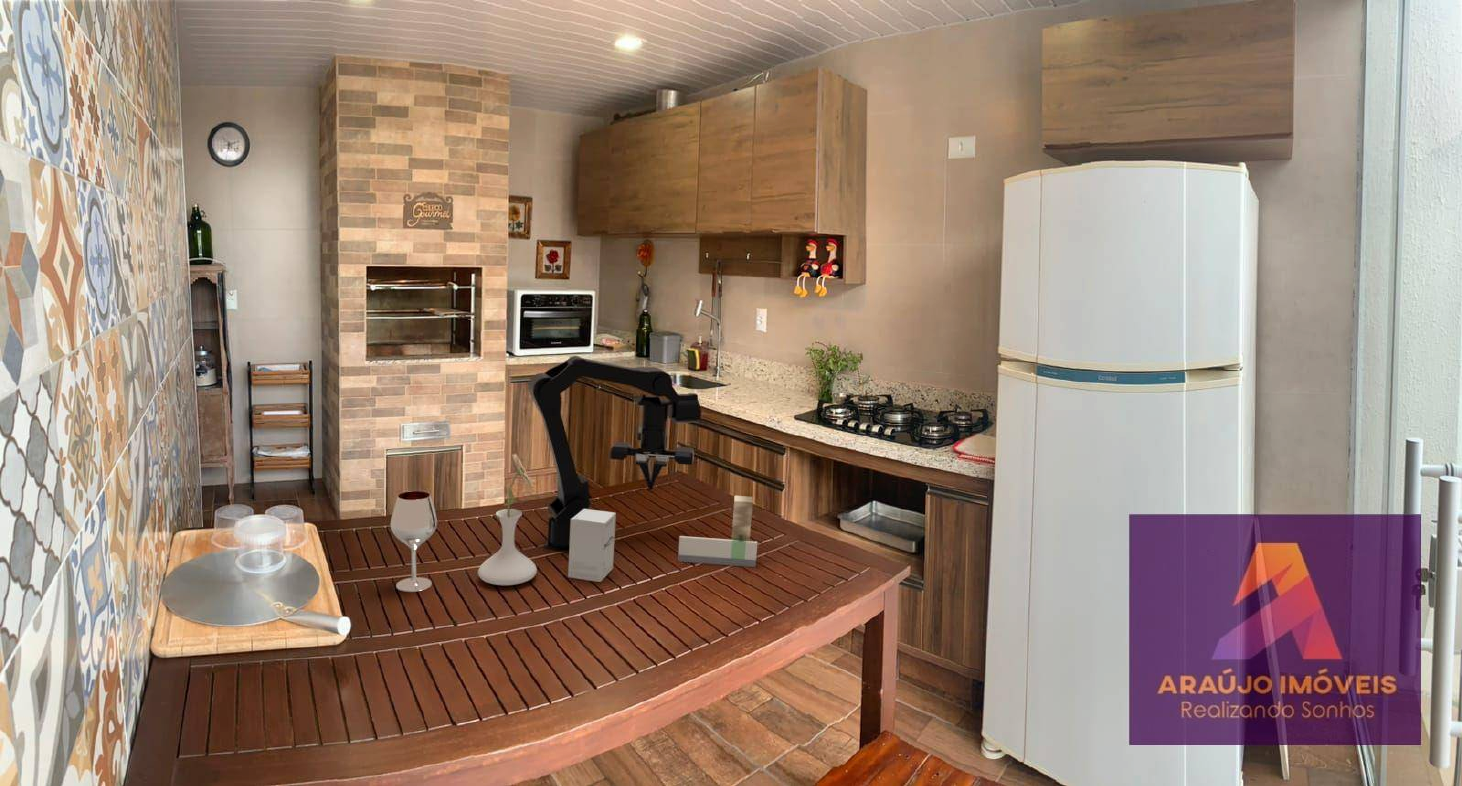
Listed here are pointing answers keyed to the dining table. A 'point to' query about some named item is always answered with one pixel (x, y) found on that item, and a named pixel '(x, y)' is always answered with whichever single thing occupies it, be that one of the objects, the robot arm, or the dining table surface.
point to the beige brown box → (742, 518)
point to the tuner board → (717, 551)
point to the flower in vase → (509, 546)
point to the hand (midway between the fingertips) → (650, 489)
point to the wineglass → (413, 530)
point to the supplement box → (591, 545)
